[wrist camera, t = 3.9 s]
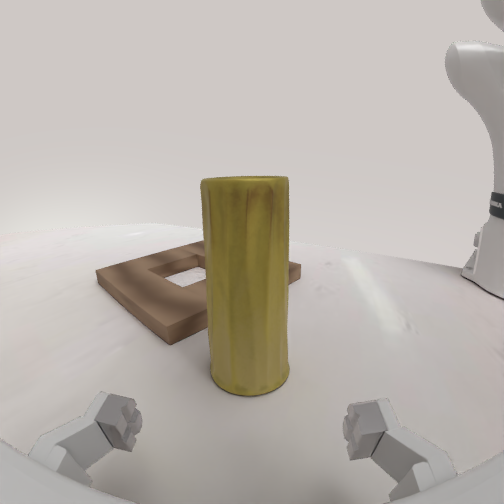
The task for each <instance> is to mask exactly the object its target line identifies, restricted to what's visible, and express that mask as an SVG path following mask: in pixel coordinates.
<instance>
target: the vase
mask: <svg viewBox="0 0 504 504" xmlns="http://www.w3.org/2000/svg"><path fill="white" fill-rule="evenodd" d="M200 185H201V186H200V189H201V200H202V218H203V235H204V250H205V269H206V296H207V315H208V336H209V345H210V355H211V364H210V370H211V375H212V377H213V379H214V381H215V383H216V384H217V385H218V386H220V387H221V388H222V389H224V390H226V391H228V392H230V393H233V394H237V395H244V396H255V395H261V394H265V393H268V392H271V391H273V390H275V389H276V388H278V387H279V386H281V385H282V384H283V383H284V382H285V380H286V379H287V377H288V375H289V369H290V368H289V364H288V344H287V315H288V284H289V180H288V177H284V176H283V177H282V176H236V177H217V178H207V179H203V180H202V181H201V184H200Z"/></svg>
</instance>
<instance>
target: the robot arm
mask: <svg viewBox="0 0 504 504" xmlns="http://www.w3.org/2000/svg"><path fill="white" fill-rule="evenodd" d="M481 4H482V7H483V9H484V11H485V13H486V14H487V16H488V17H489V18H490V20H491V21H492V22H493V23H494V24H496V26H497V27H498V28H500V29H501V30H502V31H503V32H504V0H481ZM445 67H446V72H447V75H448V78H449V80H450V82H451V84H452V85H453V87H454V89H455V90H456V91H457V92H458V93H459V94H460V95H461V96H462V97H463V98H464V99H465V100H467V101H468V102H469V103H470V104H471V105H472V106H473V107H474V109H475V110H476V111H477V112H478V114H479V115H480V117H481V118H482V120H483V122H484V123H485V125H486V128H487V130H488V132H489V135H490V138H491V142H492V147H493V157H494V192H492V195H491V200H490V210H489V212H490V214H491V215H490V218H489V220H488V222H487V223H485V224H484V226H483V227H481V232H478V233H477V234H475V239H474V246H475V247H478V250H476V249H475V251H474V253H473V255H472V256H471V257H470V259H469V261H468V262H467V264H466V265H465V267H464V268H463V270H462V273H461V275H462V276H464V277H466V278H468V279H470V280H472V281H474V282H476V283H477V284H478V285H479V286H481V287H482V288H484V289H485V290H487V291H489V292H491V293H493V294H495V295H497V296H499V297H502V298H504V46H500V45H495V44H491V43H486V42H480V41H462V42H453V44H451V46H450V47H449V49H448V50H447V53H446V59H445ZM497 192H498V193H497ZM136 405H137V404H136V402H135V400H134V399H132V398H127V397H123V396H119V395H114V394H110V393H106V392H102V391H101V392H99V393H98V394H97V395H96V397H95V398H94V400H93V402H92V403H91V405H90V406H89V408H88V410H87V411H86V413H85V415H84V416H83V417H81V416H80V417H78V418H76V419H74V420H72V421H70V422H68V423H66V424H64V425H62V426H60V427H58V428H56V429H54V430H52V431H50V432H48V433H46V434H44V435H42V436H40V437H39V439H38V440H37V442H36V444H35V445H34V447H33V448H32V450H31V451H30V453H29V454H28V456H27V455H25V454H24V453H22V452H20V451H19V450H17V449H16V448H14V447H13V446H11V445H10V444H8V443H7V442H5V441H4V440H2V439H1V438H0V504H139V503H136V502H132V501H129V500H125V499H122V498H119V497H116V496H113V495H110V494H107V493H104V492H102V491H99V490H96V489H94V488H91V487H90V485H91V483H92V479H91V477H90V476H89V475H88V474H87V473H86V472H85V470H86V469H87V468H89V467H90V466H91V465H93V464H94V463H95V462H97V461H98V460H99V459H101V458H102V457H103V456H105V455H106V454H107V453H109V452H110V451H111V450H112V449H113V448H116V449H120V450H125V451H129V452H132V450H133V447H134V445H135V442H136V438H135V435H136V434H138V433H139V432H140V430H141V427H142V416H141V413H140V411H138V410H137V409H136V408H135V407H136ZM347 412H348V415H347V416H346V417H345V418H344V422H343V434H344V439H346V440H347V441H348V442H349V443H348V445H347V451H348V455H349V459H350V460H357V459H363V458H368V457H371V459H372V460H373V461H374V462H375V463H376V464H378V465H379V466H380V467H381V468H382V469H383V470H384V471H385V472H386V473H388V474H389V475H390V476H391V477H392V478H393V479H394V480H396V481H397V482H398V485H397V486H396V487H395V488H394V489H393V490H392V491H391V492H390V494H389V497H390V501H391V502H387V503H384V504H504V450H503V451H501V452H500V453H498V454H497V455H495V456H493V457H492V458H490V459H488V460H487V461H485V462H483V463H481V464H480V465H478V466H476V467H474V468H472V469H470V470H468V471H466V472H464V473H462V474H460V475H457V473H456V471H455V469H454V466H453V464H452V462H451V460H450V458H449V456H448V454H447V452H446V451H444V450H442V449H440V448H439V447H437V446H435V445H434V444H432V443H430V442H429V441H427V440H425V439H424V438H422V437H420V436H419V435H417V434H415V433H414V432H412V431H411V430H409V429H407V428H406V427H401V426H400V423H399V421H398V419H397V417H396V415H395V412H394V410H393V408H392V406H391V404H390V401H389V399H387V398H383V399H378V400H371V401H365V402H359V403H352V404H349V406H348V408H347Z"/></svg>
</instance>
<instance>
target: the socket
mask: <svg viewBox="0 0 504 504" xmlns="http://www.w3.org/2000/svg"><path fill="white" fill-rule="evenodd" d="M198 266H199V267H202V268H204V269H205V250H204V241H200V242H196V243H192V244H188V245H185V246H181V247H177V248H173V249H170V250H166V251H162V252H159V253H155V254H151V255H148V256H144V257H141V258H137V259H133V260H130V261H126V262H123V263H119V264H116V265H112V266H109V267H105V268H102V269H98V270H96V275H97V280H98V283H99V284H100V285H101V286H102V287H103V288H104V289H105V290H106V291H107V292H108V293H109V294H110V295H111V296H113V297H114V298H115V299H116V300H117V301H118V302H119V303H120V304H121V305H122V306H124V307H125V308H126V309H127V310H128V311H129V312H130V313H131V314H133V315H134V316H135V317H136V318H137V319H138V320H140V321H141V322H142V323H143V324H144V325H146V326H147V327H148V328H149V329H150V330H152V331H153V332H154V333H155V334H156V335H158V336H159V337H160V338H161V339H163V340H164V341H165V342H167V343H168V344H169V345H172V344H174V343H176V342H178V341H180V340H182V339H184V338H186V337H188V336H190V335H192V334H194V333H196V332H199V331H201V330H203V329H205V328H207V327H208V315H207V296H206V279H204V280H202V281H199V282H196V283H194V284H191V285H188V286H186V287H181V286H178V285H176V284H174V283H172V282H170V281H168V280H166V279H164V278H165V277H168V276H171V275H174V274H177V273H180V272H183V271H186V270H189V269H192V268H195V267H198ZM300 276H301V264H297V263H293V262H289V284H290V283H292V282H294V281H296V280H298V279H300ZM289 284H288V285H289Z"/></svg>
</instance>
